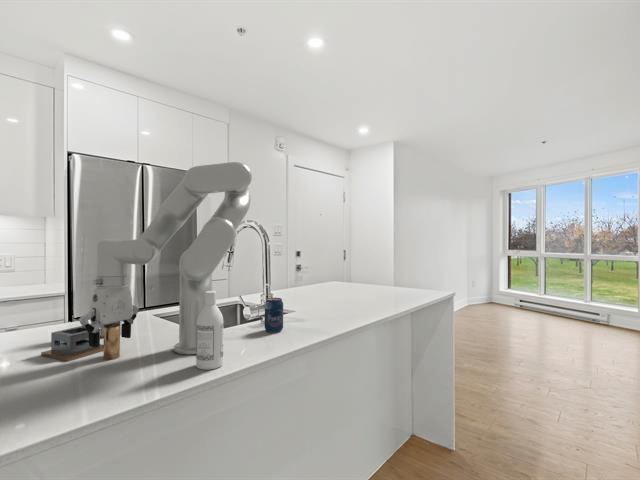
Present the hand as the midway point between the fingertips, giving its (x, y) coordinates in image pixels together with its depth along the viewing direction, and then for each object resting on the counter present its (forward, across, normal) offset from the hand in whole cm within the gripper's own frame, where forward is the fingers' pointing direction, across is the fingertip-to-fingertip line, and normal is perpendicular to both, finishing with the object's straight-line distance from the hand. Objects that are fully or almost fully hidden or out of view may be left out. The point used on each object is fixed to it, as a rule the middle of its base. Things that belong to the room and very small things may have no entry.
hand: (110, 341), depth 97 cm
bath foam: (+4, +6, -30) cm, 31 cm away
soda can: (+4, +44, -28) cm, 53 cm away
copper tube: (+5, 0, 0) cm, 5 cm away
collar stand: (+5, -1, +14) cm, 15 cm away
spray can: (+5, +16, +22) cm, 28 cm away
